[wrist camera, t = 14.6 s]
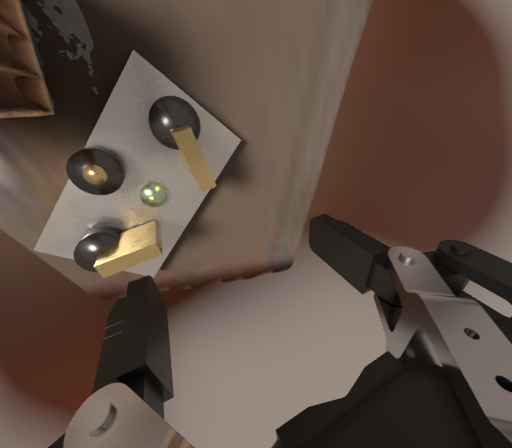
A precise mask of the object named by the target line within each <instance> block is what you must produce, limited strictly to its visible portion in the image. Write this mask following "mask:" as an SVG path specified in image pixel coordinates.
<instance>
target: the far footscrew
mask: <svg viewBox="0 0 512 448" xmlns="http://www.w3.org/2000/svg"><path fill="white" fill-rule="evenodd" d="M73 255H74V260H75V261H76V263H77V264H78V265H79V266H80V267H82V268H84V269H86V270H88V271H92V272H99V273H100V274H101V276H102V277H103V278H106V277H108V276H111V275H113V274H116V273H118V272H121V271H123V270H126V269H128V268H131V267H133V266H136V265H138V264H141V263H143V262H146V261H148V260H151V259H153V258H156V257H158V256H161V255H163V254H162V240H161V230H160V228H159V227H158V225H157V223H156V221H152V222H149V223H147V224H144V225H141V226H138V227H135V228H132V229H129V230H127V231H124V232H120V231H118V230H116V229H113V228H108V227H99V228H94V229H91V230H89V231H87V232H86V233H85V234H84V235H83V236H82V237H81V239H80V241H79V242H78V244H77V246H76V248H75V250H74V254H73Z"/></svg>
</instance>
